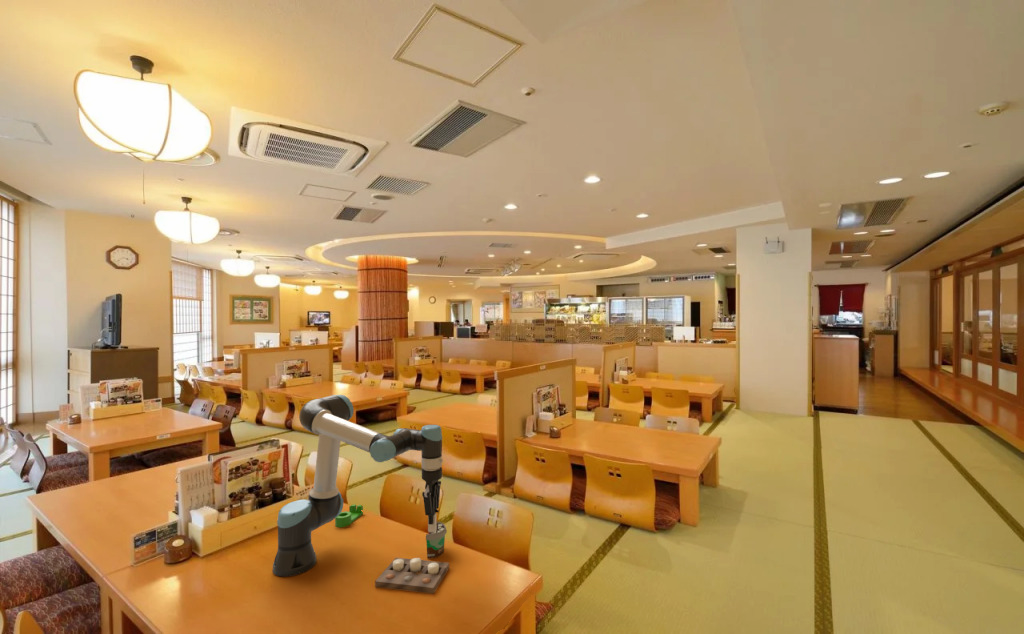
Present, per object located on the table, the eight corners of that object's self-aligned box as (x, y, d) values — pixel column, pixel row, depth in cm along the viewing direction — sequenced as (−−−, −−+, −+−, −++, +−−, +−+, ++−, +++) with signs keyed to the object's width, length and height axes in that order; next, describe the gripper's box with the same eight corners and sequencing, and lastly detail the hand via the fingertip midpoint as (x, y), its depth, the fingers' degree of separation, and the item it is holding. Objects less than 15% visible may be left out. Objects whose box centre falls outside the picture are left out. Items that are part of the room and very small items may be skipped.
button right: (426, 577, 160) (426, 567, 160) (430, 571, 164) (430, 562, 164) (436, 578, 159) (436, 568, 159) (440, 572, 163) (440, 563, 163)
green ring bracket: (345, 528, 201) (345, 518, 201) (331, 527, 202) (331, 517, 202) (363, 514, 215) (363, 505, 215) (350, 513, 217) (350, 504, 217)
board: (375, 586, 155) (375, 580, 155) (395, 562, 171) (395, 557, 171) (433, 593, 151) (433, 587, 151) (449, 568, 166) (449, 562, 166)
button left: (390, 573, 162) (390, 564, 162) (395, 567, 166) (395, 558, 166) (400, 574, 162) (400, 565, 162) (405, 568, 166) (405, 559, 166)
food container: (440, 561, 171) (440, 536, 171) (425, 560, 172) (425, 534, 172) (451, 545, 183) (450, 522, 183) (437, 544, 184) (437, 520, 184)
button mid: (408, 572, 161) (408, 563, 161) (412, 566, 165) (412, 557, 165) (418, 573, 160) (418, 564, 160) (422, 567, 164) (422, 558, 164)
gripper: (434, 474, 155) (435, 540, 154) (447, 462, 168) (447, 524, 167) (415, 473, 156) (415, 539, 156) (429, 461, 169) (429, 522, 169)
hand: (432, 531), depth 162 cm, fingers closed
